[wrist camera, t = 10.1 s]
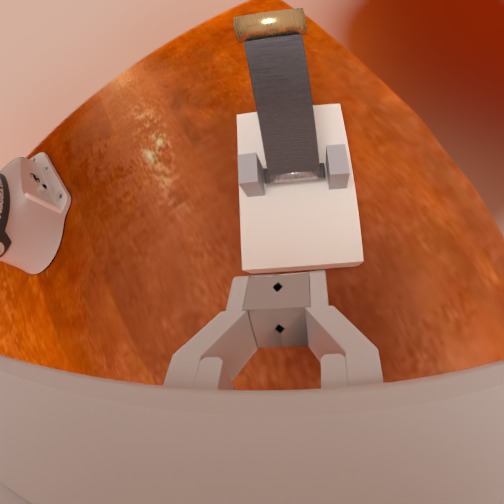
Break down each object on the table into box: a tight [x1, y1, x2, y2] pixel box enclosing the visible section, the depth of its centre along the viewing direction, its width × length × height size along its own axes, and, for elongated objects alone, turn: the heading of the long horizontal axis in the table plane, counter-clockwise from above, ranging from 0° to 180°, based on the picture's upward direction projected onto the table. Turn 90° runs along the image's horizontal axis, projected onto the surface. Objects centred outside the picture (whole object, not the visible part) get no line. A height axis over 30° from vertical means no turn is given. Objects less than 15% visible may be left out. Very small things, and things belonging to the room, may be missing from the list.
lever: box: [233, 8, 326, 184], centre depth 26 cm, size 3×6×17 cm
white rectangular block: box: [237, 104, 364, 274], centre depth 32 cm, size 18×12×9 cm, turn 2°
